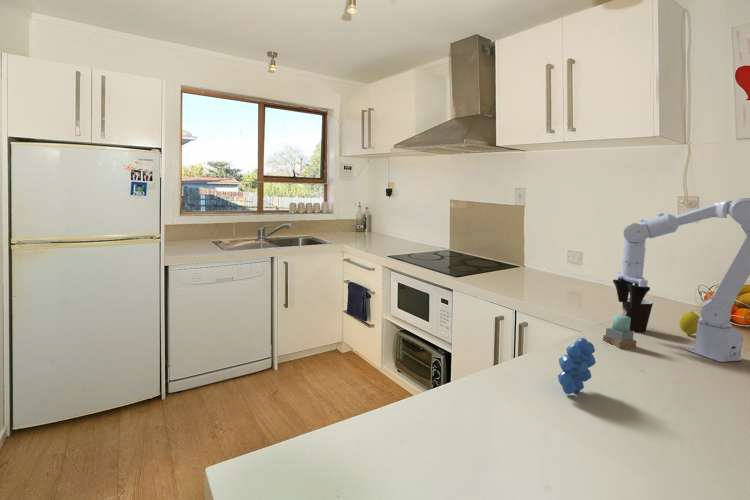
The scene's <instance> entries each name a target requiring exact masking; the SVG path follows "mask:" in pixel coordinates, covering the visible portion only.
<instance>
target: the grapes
mask: <svg viewBox="0 0 750 500" xmlns="http://www.w3.org/2000/svg"><path fill="white" fill-rule="evenodd" d="M565 350H566V354H563V355H561V356H560V357H559V358H558V364H559V366H560V368H561V369H560V370H562V372H559V374H558V375H557V379H558V382H559V384H560V386H561V387H562V388H561V389H562V390H563V392H564V394H566V395H571V394H573V393H579V392H580V391H582V390H583V389H584V388H585V386H584V383H585V382H587V381H590V379H591V378H592V374H591V371H590V369H589V368H591V367H593V366H594V365H595V364H596V358H595V356H594V355H593V354H594V353H595V352H596V349H595V346H594V344H593V343H592V342H591V341H588V339H586V338H585V337H580V338H578V339H577V340H576V341H575V342H574V343H571V344H570V345H568V347H566V349H565Z"/></svg>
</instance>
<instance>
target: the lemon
mask: <svg viewBox="0 0 750 500" xmlns="http://www.w3.org/2000/svg"><path fill="white" fill-rule="evenodd" d="M700 318H701V316H699V315H698V314H697V313H694V311H688V312H684V313H683V314H682V315H681V317H680V319H679V324H678V325H679V328H680V329H681V331H682V332H683V333H685V334H686V335H687V336H691V335H694V334H697V325H698V319H700Z"/></svg>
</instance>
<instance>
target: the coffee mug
mask: <svg viewBox="0 0 750 500" xmlns="http://www.w3.org/2000/svg"><path fill="white" fill-rule="evenodd" d="M621 303H622V315H624V316H628V317H630V318H631V321H630V331H634V333H638V332H640V334H642V333H646V332H647V328H648V324H649V320H650V316H651V312H652V309H653V304H654V302H653V301H651V300H648V299H644V298H643V300H642V303H641V305H640V307H639V308H631V305H630V297H628V299H627V302H621Z"/></svg>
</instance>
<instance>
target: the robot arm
mask: <svg viewBox="0 0 750 500" xmlns="http://www.w3.org/2000/svg"><path fill="white" fill-rule="evenodd" d="M728 215H729V216H730V218H732V220H733V221H735V222H736V223H738V224H739V225H740V228H741V229H742V230H743V232H744V233H745V235H746V236H745V239H744V240H743V243H742V244H741V245H740V247H739V249H738V250H737V252H736V254H735V256H734V258H733V259H732V261H731V263H730V265H729V267H728V269H727V270H726V272H725V274H724V275H723V277H722V279H721V281H720V282H719V284H718V286H717V288H716V289H715V291H714V292H713V293H712V295H711V297H710V298H709V297H708V299H706V300H705V301H704V302H703V303H702V306H701V310H700V319H698V325H697V333H695V334H696V335H695V343H694V347H688V348H687V347H686V349H685V350H686V351H689V352H692V353H694V354H697V355H699V356H700V355H701V356H703V357H705V358H708V359H711V360H713V361H717V362H719V363H726V362H727V363H729V362H736V361H743V358H741V357H742V350H743V349H742V348H743V341H744V339H743V334H742V333H741V331H739V330H737V329H735V328H734V327H732V326H733V324H732V323H731V322H730V320H731V318H732V313H731V311H732V308H733V306H734V304H735V302H736V299H737V298H738V296H739V294H740V293H741V291H742V289H743V288H744V285H745V283H746V282H747V281H748V278H749V277H750V197H740V198H738V199H736V200H734V201H733V200H725V201H721V202H715V203H712V204H708V205H705V206H701V207H699V208H696V209H693V210H690V211H687V212H684V213H681V214H678V215H673V214H671V213H665V214H664V213H663V212H662V213H658V214H657V216H656V217H655V216H654V217H652V218H647V219H640V220H639V223H637V222H634V223H633V222H632V223H631V224H629V225H627V226H626V227H624V230H623V237H624V242H623V245H624V246H622V247H623V250H622V261H621V270H620V271H617V272H616V277H615V278H616V279H613V280H612V282H613V284H614V286H615V289H616V293H617V298H618V302H619V303H622V302H627V299H628V298H630V305H631V308H639V307H640V305H641V303H642V300H643V299H644V298H645V296H646V294H647V293H649V291H650V290H651V287H649V286H648V283H649V281H648V280H647V279H646V278H645V277H644V276H643V275H644V266H645V257H646V256H645V255H646V247H645V246H646V240H647V239H648V238H649V239H655V238H657V237H661V236H665V235H669V234H672V233H676V231H677V230H678V228H679V227H680V226H683V225H688V224H692V223H695V222H696V223H697V222H698V221H703V220H706V219H711V218H719V219H727V217H728Z"/></svg>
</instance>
